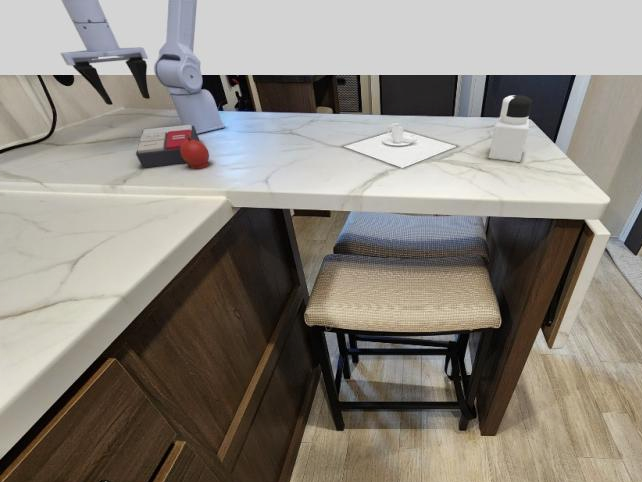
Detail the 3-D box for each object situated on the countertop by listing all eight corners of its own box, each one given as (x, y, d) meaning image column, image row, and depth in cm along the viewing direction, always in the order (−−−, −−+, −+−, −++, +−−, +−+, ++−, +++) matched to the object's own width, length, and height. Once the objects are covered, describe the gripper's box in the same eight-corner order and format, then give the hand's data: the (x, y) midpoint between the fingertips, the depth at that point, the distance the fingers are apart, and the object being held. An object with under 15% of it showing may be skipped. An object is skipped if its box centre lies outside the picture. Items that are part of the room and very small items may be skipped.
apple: (205, 159, 74) (193, 128, 69) (217, 165, 71) (206, 133, 67) (182, 166, 71) (168, 134, 66) (193, 172, 68) (180, 139, 64)
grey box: (133, 150, 67) (140, 126, 76) (144, 171, 70) (150, 145, 79) (192, 143, 70) (192, 121, 80) (200, 163, 73) (199, 140, 83)
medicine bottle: (522, 152, 79) (536, 94, 71) (520, 162, 74) (535, 102, 66) (492, 148, 81) (503, 92, 73) (488, 158, 76) (499, 98, 68)
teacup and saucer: (422, 142, 83) (423, 125, 81) (400, 150, 79) (401, 132, 76) (397, 135, 88) (397, 118, 85) (375, 142, 83) (375, 124, 81)
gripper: (51, 24, 59) (98, 109, 68) (138, 22, 67) (169, 98, 77) (40, 23, 62) (86, 104, 71) (125, 20, 71) (156, 93, 80)
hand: (128, 100), depth 74 cm, fingers open, 7 cm apart
